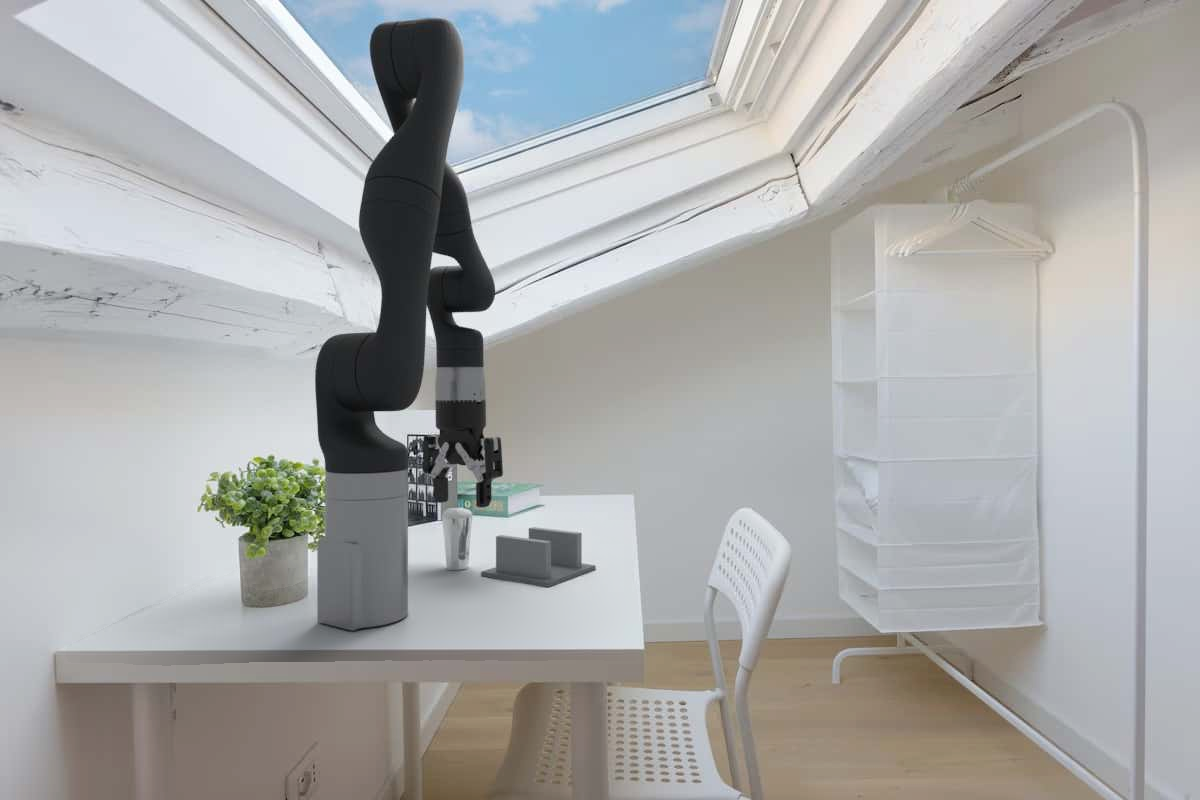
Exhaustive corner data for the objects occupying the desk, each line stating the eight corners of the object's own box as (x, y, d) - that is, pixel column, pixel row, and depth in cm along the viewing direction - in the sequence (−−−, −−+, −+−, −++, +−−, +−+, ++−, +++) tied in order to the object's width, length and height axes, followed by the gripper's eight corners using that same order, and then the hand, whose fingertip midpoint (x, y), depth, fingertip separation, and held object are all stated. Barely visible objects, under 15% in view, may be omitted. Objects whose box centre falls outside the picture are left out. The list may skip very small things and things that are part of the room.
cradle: (548, 587, 96) (548, 545, 96) (481, 575, 103) (481, 537, 103) (595, 569, 107) (595, 532, 107) (531, 560, 113) (531, 524, 113)
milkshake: (474, 571, 105) (474, 504, 105) (438, 571, 105) (438, 504, 105) (480, 564, 110) (480, 499, 110) (445, 564, 110) (445, 499, 110)
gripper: (408, 398, 108) (410, 504, 109) (479, 398, 101) (480, 512, 101) (444, 397, 115) (445, 497, 115) (513, 397, 107) (514, 504, 107)
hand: (462, 504), depth 108 cm, fingers open, 8 cm apart
